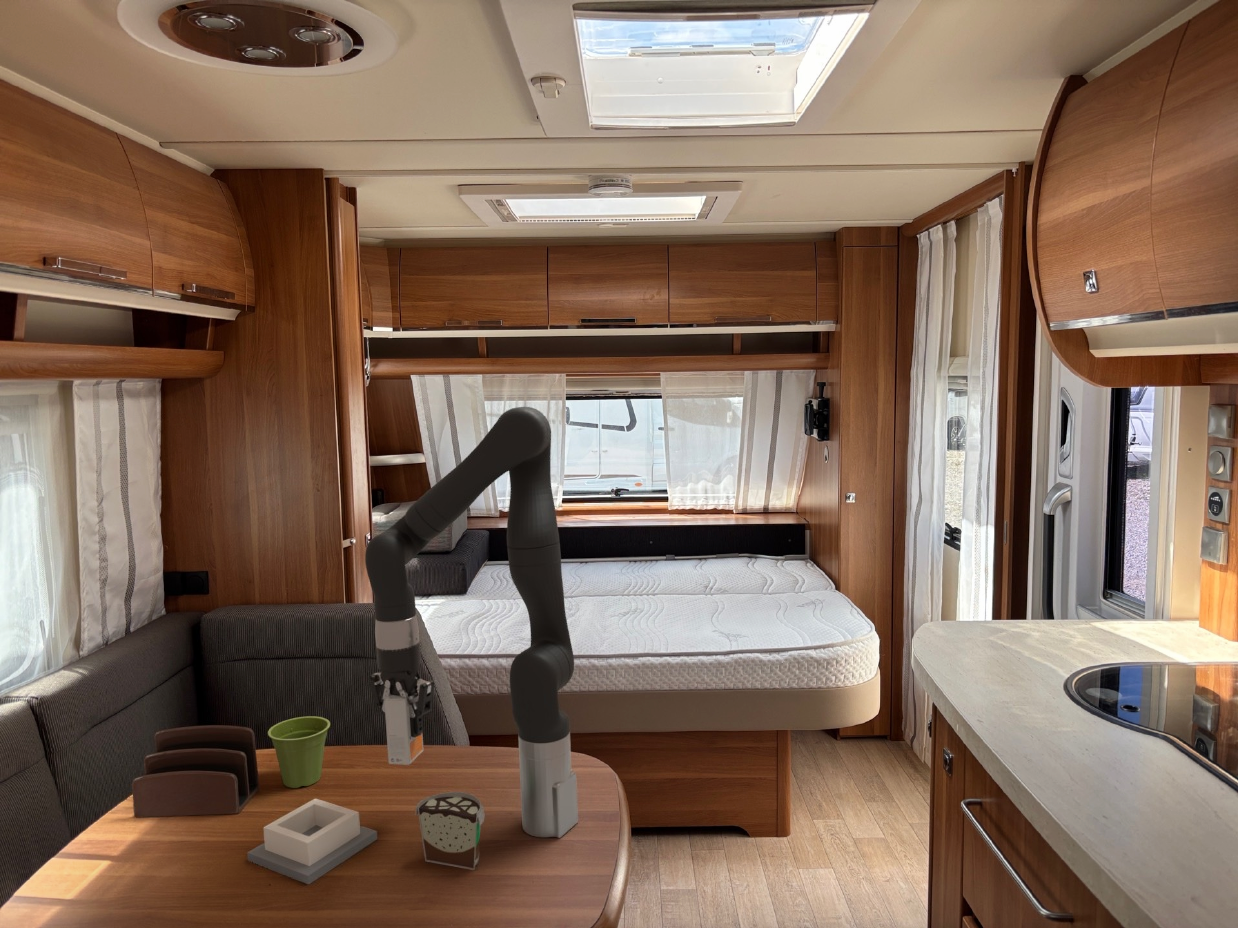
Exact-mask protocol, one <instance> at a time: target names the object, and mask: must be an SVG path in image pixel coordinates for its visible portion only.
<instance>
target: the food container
mask: <svg viewBox="0 0 1238 928" xmlns="http://www.w3.org/2000/svg"><path fill="white" fill-rule="evenodd" d="M414 815H415V816H417V815H418V822H419V829H420V835H421V840H422V847H423V856H424V861H425V862H428V863H432V864H433V863H434V864H438V865H444V866H449V867H450V866H451V867H456V868H460V869H467V870H471V871H475V870H477V868H478V866H479V861H480V846H481V845H480V843H481V826H482V824H483V823H484V821H485V817H486V814H485V811H484V807H483V804H482V802H481V801H480V799H479V798H478V797H477V796H476V795H474V794H471V793H468V792H463V791H462V792H461V791H447V792H441V793H437V794H434V795H430V796H428V797H425V798H424V799H422V800H420V801H419V802H418V803H417V804H416V807H415V811H414Z"/></svg>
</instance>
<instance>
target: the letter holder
mask: <svg viewBox="0 0 1238 928" xmlns="http://www.w3.org/2000/svg"><path fill="white" fill-rule="evenodd" d="M153 739H154V746H155V752H154V753H150V754H147V755H146V756H145V757H144V758H143V770H144V775H141V776H138V777H135V778H134V779H133V780H132V782H131V789H132V790H131V791H132V805H133V814H134V815H133V816H134V818H135V817H136V818H135V819H137V817H138V818H160V817H161V818H162V817H164V816H166V817H168V818H169V817H185V816H187V817H188V816H189V817H193V816H212V815H213V816H215V815H217V816H218V814H219V815H238V814H239V815H240V813H241V812H242V810H243V809H244V808H245V807H246V806H247V805H248V804H249V802H250V801H251V800H252V799H253V797H254V796H255V795H256V794H257V793H258V792H259V790H260V781H259V780H260V779H259V770H258V769H259V767H258V761H257V760H258V759H257V748H256V737H255V732H254V730H253V729H252V728H251V727H246V726H240V725H239V726H238V725H221V724H220V725H219V724H217V725H215V724H212V725H210V724H209V725H193V726H184V727H175V728H169V729H162V730H158V731H156V732H155V734H154V736H153Z"/></svg>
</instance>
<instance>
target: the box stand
mask: <svg viewBox="0 0 1238 928" xmlns="http://www.w3.org/2000/svg"><path fill="white" fill-rule="evenodd" d="M263 839H264V842H263V843H262V844H260V845H258V846H256V847H254V848H253V849H251V850H249V851H248V852H247V853H246V854H247V861H248V862H250V861H251V862H250V863H252V862H253V864H255V863H256V865H257V864H258V865H257V866H260V867H262V866H264V867H263V868H265V869H267V868H268V870H270V871H273V872H274V873H275V872H276V873H278V874H280V875H284V876H285V875H286V876H285V877H288V878H290V877H291V878H290V879H293V880H296V881H299V882H301V883H304V884H306V885H310V884H311V883H313V882H314V881H316V880H317V879H319V878H320V877H323V876H325V875H326V873H328V872H330V871H331V870H333V869H334V868H336V867H337V866H340V864H342V863H343V862H345V861H346V860H348V859H350V858H351V857H353V856H354V855H356V854H357V853H359V852H360V851H362V850H363V849H365V848H366V847H368V846H369V845H371V844H372V843H374V842H376V840H378V831H377V830H374V829H372V828H369V827H366V826H363V825H360V812H359V811H356V810H353V809H350V808H347V807H344V806H340V805H338V804H334V803H331V802H328V801H325V800H321V799H318V798H314V799H312V800H310V801H308V802H306V803H304V804H303V805H301V806H299V807H297V808H295V809H294V810H292V811H289V812H288V813H287V814H285V815H283V816H281V817H278V819H276V820H274V821H273V822H271V823H269V824H267V825H265V826H264V827H263Z"/></svg>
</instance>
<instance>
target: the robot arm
mask: <svg viewBox="0 0 1238 928" xmlns="http://www.w3.org/2000/svg"><path fill="white" fill-rule="evenodd" d="M551 448H552V428H551V425H550V422H549V420H548V418H547V417H546V416H545V415H544V413H543V412H541V411H540V410H538V409H537V408H535V407H534V408H533V407H531V406H517V407H513V408H510V409H507V410H506V411H504V412H503V413H502V414H501V415H500V416H499V417H498V419H497V420H496V422H495V423H494V424H493V426H492V427H491V428H490V429H489V431H488V432H487V433H486V435H485V436H483V438H482V440H481V441H480V442H479V443H478V445H477V446H476V447H475V448H474V449H473V450H472V451H471V452H470V453H469V454H467V456H466V457H465V458H464V459H463V460H462V461H461V462H460V463H459V464H458V465H457V466H455V467H454V468H453V469H452V470H451V471H449V472H448V473H447V474H446V475H445V476H444V477H442V479H440V480H439V481H438V482H436V483H435V484H434V485H433V486H432V487H430V489H428V490H427V491H426V492H425V493H423V495H421V496H420V497H419V498H418V499H417V500H416V501H415V502H414V503H412V505H410V507H409V508H408V509H407V510H406V512H405V515H403V516H402V517H401V518H399V519H398V520H397V521H396V522H395V523H394V524H392V525H391V526H390V527H389V528H387V529H386V530H385V531H383V532H381V533H379V534H377V535H376V536H374V537H373V538H371V540H370V541H369V542H368V543H367V545H366V547H365V548H366V549H365V555H364V556H365V558H364V561H365V568H366V574H367V577H368V580H369V584H370V587H371V590H372V594H373V601H374V602H373V605H374V616H375V625H374V626H375V627H374V628H375V629H374V634H375V635H374V637H375V645H376V646H375V648H376V649H375V650H376V659H377V660H376V661H377V663H376V664H377V669H378V670H379V671H378V672H374V673H373V674H371V675H369V676H368V681H369V686H370V690H371V695H372V699H373V703H374V706H375V708H376V709H377V708H378V709H379V708H381V710H382V712H384V713H385V702H384V700H385V699H386V698H387V697H389V696H390V695H396V696H401V698H403V699H406V700H407V705H408V706H409V714H410V729H411V737H417V736H419V735H421V734H422V735H423V732H424V720H423V719H424V717H423V715H425V714H427V713H429V712H431V711H432V708H433V699H434V698H433V697H434V689H435V681H434V680H432V679H429V680H428V681H427V680H424V679H422V676H421V674H420V671H419V669H420V666H421V663H422V656H421V644H420V643H421V642H420V632H419V629H420V628H419V623H418V619H417V618H418V617H417V608H416V597H415V590H414V587H413V586H412V584H411V583H409V582H408V579H407V571H406V565H407V564H409V563H410V562H411V561H412V560H413V559H414V558H415V557H416V556H417V555H418V554H419V553H420V552H421V551H423V549H424V548H425V547H427V545H428V544H429V543H430V542H431V541H432V540H433V539H435V538H436V537H438V536H439V535H440V534H441V533H443V532H444V531H445V530H446V529H447V528H448V527H449V526H450V525H452V524H453V523H454V522H455V521H457V519H458V518H459V517H461V515H462V514H463V513H464V512H465V511H467V509H468V508H470V506H471V505H472V504H473V503H474V502H475V501H476V500H477V499H478V497H480V496H481V495H482V493H483V492H484V491H485V490H486V489H487V488H488V487H489V486H490V485H492V484H493V483H494V482H496V481H497V480H498V479H499V478H501V476H504V474H505V473H507V472H508V475H509V484H510V491H509V492H510V494H509V506H508V513H507V514H508V515H507V524H506V546H507V547H506V548H507V557H508V558H507V559H508V568H509V573H510V577H511V579H512V582H513V585H514V586H515V588H516V590H517V592H518V593H519V595H520V597H521V599H522V601H523V603H524V605H525V607H526V609H527V612H528V618H529V627H530V645H529V647H527V648H526V649H524V650H523V651H520V653H518V654H517V655H516V656H515V657H514V659H513V660H512V662H511V665H510V669H509V670H510V671H509V689H510V690H509V691H510V701H511V709H512V717H513V718H512V719H513V720H514V723H515V725H516V727H517V734H518V735H517V736H518V737H517V738H518V755H519V756H518V757H519V759H518V760H519V781H520V782H519V783H520V804H521V806H520V807H521V821H522V822H521V823H522V830H523V831H524V832H526V834H527V835H530V836H532V837H536V838H537V837H538V838H551V837H554V838H559V839H560V838H562V837H563V836H564V835H566V834H567V832H568V831H570V829H572V828H573V827H574V826H575V825H576V824H577V823H579V814H578V811H579V809H578V788H577V787H578V784H577V772H576V771H573V770H572V756H571V755H572V754H571V750H572V749H571V722H570V721H571V720H570V717H569V715H568V714H567V713H566V712H565V711H563V710H561V709H560V707H559V706H560V705H559V691H560V690H562V689H563V688H564V687H565V686H566V685H567V684H568V683H570V681H571V679H572V678H573V674H574V671H575V659H574V657H575V656H574V652H573V646H572V641H571V636H570V631H569V626H568V620H567V614H566V605H565V593H564V582H563V573H562V556H561V555H562V554H561V544H560V543H561V542H560V534H559V528H558V519H557V513H556V506H555V501H554V500H555V499H554V494H553V489H552V478H551V468H552V467H551V460H552V459H551V455H552V454H551V453H552V452H551V450H552V449H551ZM412 695H414V698H412V699H411V700H410V699H409V697H410V696H412ZM380 696H381V697H380ZM413 703H415V706H416V708H417V709H415V708H414V705H413ZM384 721H385V723H386V717H385V716H384Z"/></svg>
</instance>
